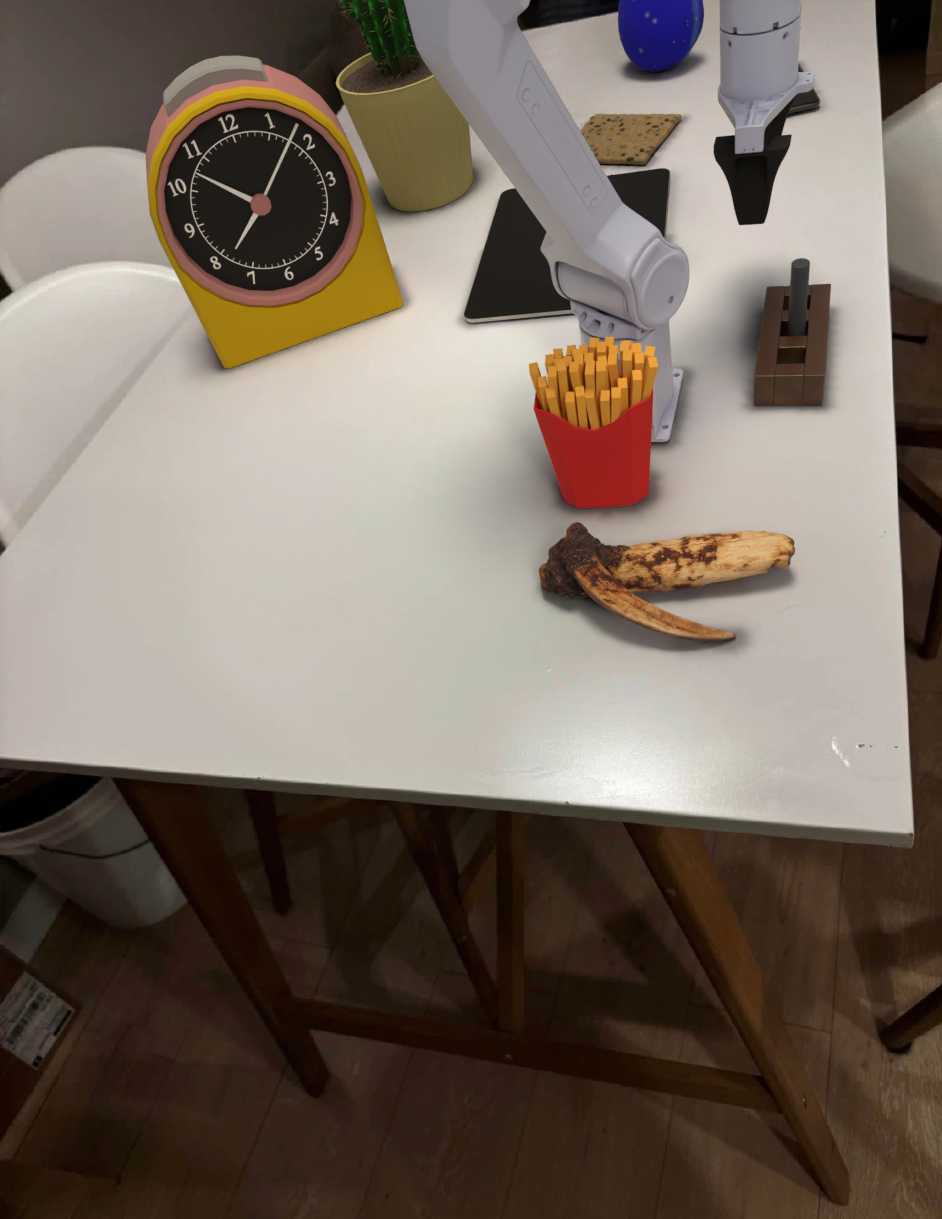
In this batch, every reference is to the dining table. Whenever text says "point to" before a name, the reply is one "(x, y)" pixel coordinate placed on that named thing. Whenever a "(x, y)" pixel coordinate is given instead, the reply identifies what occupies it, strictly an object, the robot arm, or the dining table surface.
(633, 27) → the ornament
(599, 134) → the cookie
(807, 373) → the stand
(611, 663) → the dining table surface
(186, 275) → the alarm clock
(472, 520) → the dining table surface
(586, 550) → the lashed bone hook
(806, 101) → the smartphone
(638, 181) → the tablet
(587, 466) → the french fries
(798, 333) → the stylus
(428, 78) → the potted cactus
